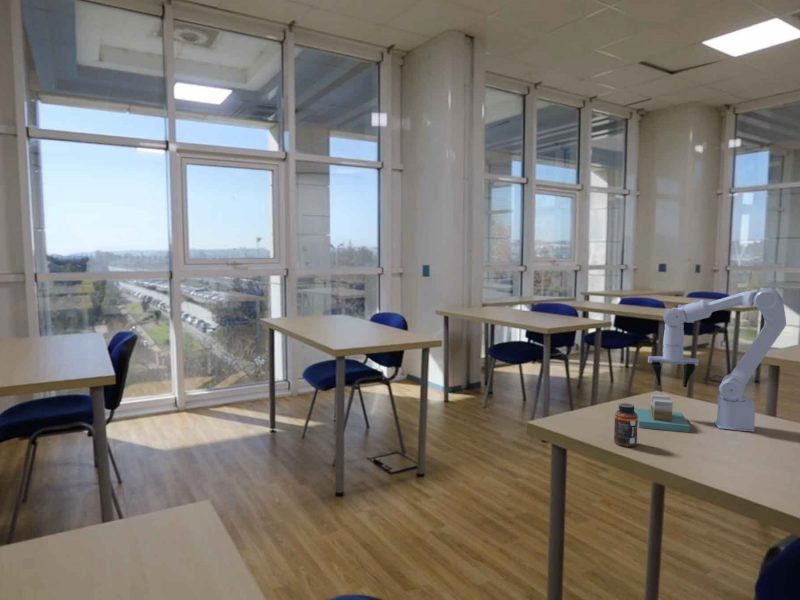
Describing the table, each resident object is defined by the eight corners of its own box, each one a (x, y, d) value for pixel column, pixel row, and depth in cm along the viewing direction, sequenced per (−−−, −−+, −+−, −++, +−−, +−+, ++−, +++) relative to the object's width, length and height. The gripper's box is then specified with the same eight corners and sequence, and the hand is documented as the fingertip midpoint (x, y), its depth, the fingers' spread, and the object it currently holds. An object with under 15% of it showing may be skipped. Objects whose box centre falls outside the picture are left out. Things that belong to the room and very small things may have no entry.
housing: (671, 421, 160) (672, 402, 159) (653, 419, 162) (654, 401, 161) (667, 413, 167) (668, 395, 167) (650, 412, 169) (651, 394, 169)
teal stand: (681, 418, 169) (681, 412, 169) (689, 432, 156) (689, 425, 156) (634, 414, 174) (634, 408, 174) (638, 427, 161) (638, 421, 160)
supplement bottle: (639, 448, 144) (640, 408, 143) (616, 447, 145) (617, 407, 144) (634, 440, 150) (635, 402, 148) (612, 439, 151) (613, 401, 150)
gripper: (696, 343, 170) (694, 384, 172) (647, 341, 175) (646, 380, 176) (700, 347, 164) (698, 389, 165) (650, 345, 168) (648, 386, 170)
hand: (671, 385), depth 170 cm, fingers open, 7 cm apart
